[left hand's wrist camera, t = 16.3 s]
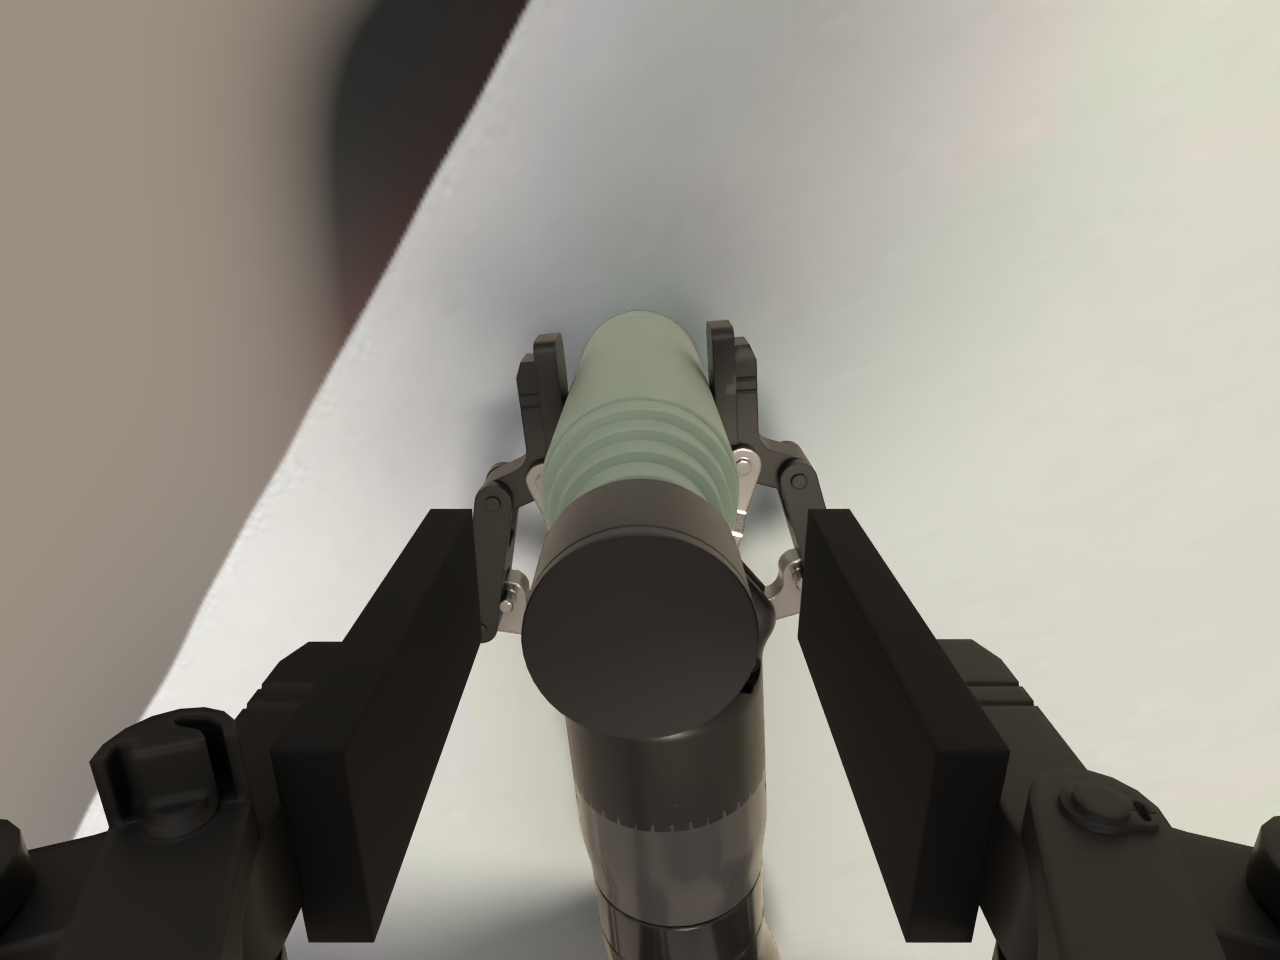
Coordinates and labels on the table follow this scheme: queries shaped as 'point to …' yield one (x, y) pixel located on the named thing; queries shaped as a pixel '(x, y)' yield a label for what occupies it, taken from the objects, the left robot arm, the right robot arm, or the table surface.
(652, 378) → the bottle
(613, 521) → the cap
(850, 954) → the table surface
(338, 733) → the left robot arm
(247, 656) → the table surface
